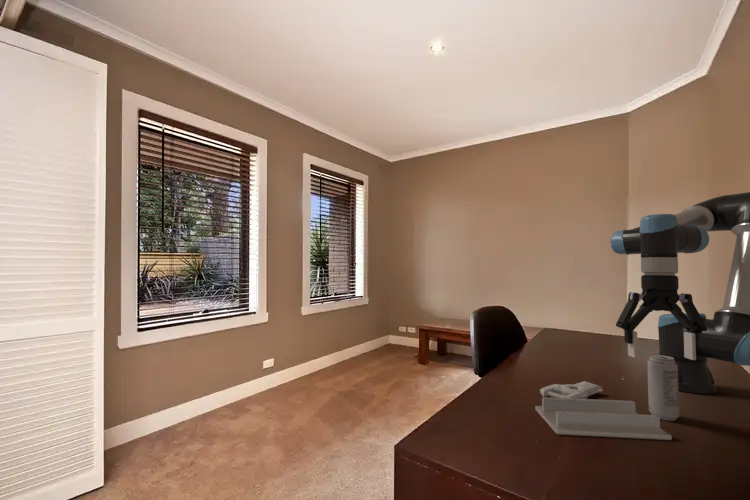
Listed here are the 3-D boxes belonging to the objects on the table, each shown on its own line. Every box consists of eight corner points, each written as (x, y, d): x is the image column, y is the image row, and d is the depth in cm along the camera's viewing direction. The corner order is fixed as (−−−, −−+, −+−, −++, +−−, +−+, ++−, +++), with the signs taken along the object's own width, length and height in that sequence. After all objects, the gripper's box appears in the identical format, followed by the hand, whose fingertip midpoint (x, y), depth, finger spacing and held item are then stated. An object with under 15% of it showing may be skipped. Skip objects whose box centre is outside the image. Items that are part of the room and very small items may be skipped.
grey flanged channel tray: (632, 413, 92) (631, 398, 92) (671, 440, 78) (671, 421, 78) (535, 409, 94) (535, 394, 94) (557, 434, 80) (556, 416, 80)
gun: (573, 374, 114) (605, 384, 105) (573, 385, 114) (606, 395, 105) (535, 386, 105) (567, 398, 96) (536, 398, 105) (568, 410, 96)
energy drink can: (662, 411, 93) (660, 353, 94) (686, 421, 87) (683, 359, 88) (642, 412, 92) (641, 354, 93) (665, 422, 86) (663, 360, 87)
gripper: (699, 275, 94) (702, 356, 93) (600, 273, 97) (601, 352, 95) (724, 275, 87) (727, 363, 86) (616, 273, 89) (617, 359, 88)
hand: (661, 357), depth 91 cm, fingers open, 13 cm apart
